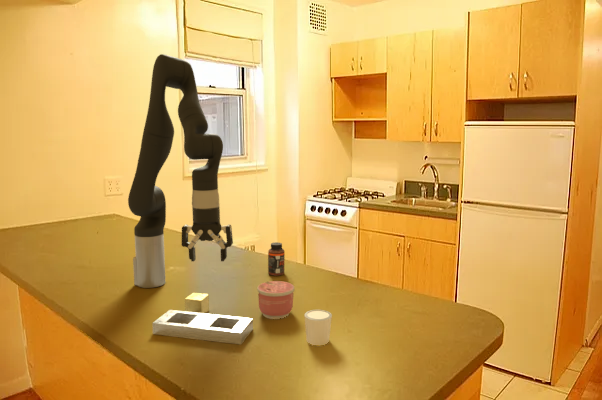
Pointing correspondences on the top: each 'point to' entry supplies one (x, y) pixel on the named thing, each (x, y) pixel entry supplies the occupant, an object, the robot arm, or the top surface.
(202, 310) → the wooden toy cube
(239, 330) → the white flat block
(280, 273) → the supplement bottle
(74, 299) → the top surface
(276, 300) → the container
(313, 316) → the white cup
